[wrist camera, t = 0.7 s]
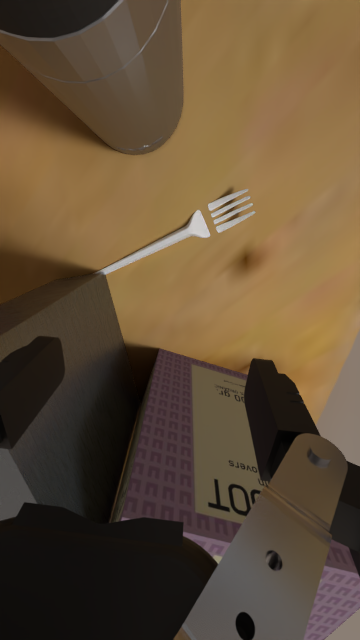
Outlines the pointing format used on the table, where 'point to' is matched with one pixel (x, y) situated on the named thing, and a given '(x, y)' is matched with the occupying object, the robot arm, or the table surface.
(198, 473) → the box
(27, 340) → the box
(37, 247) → the table surface
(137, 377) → the table surface
